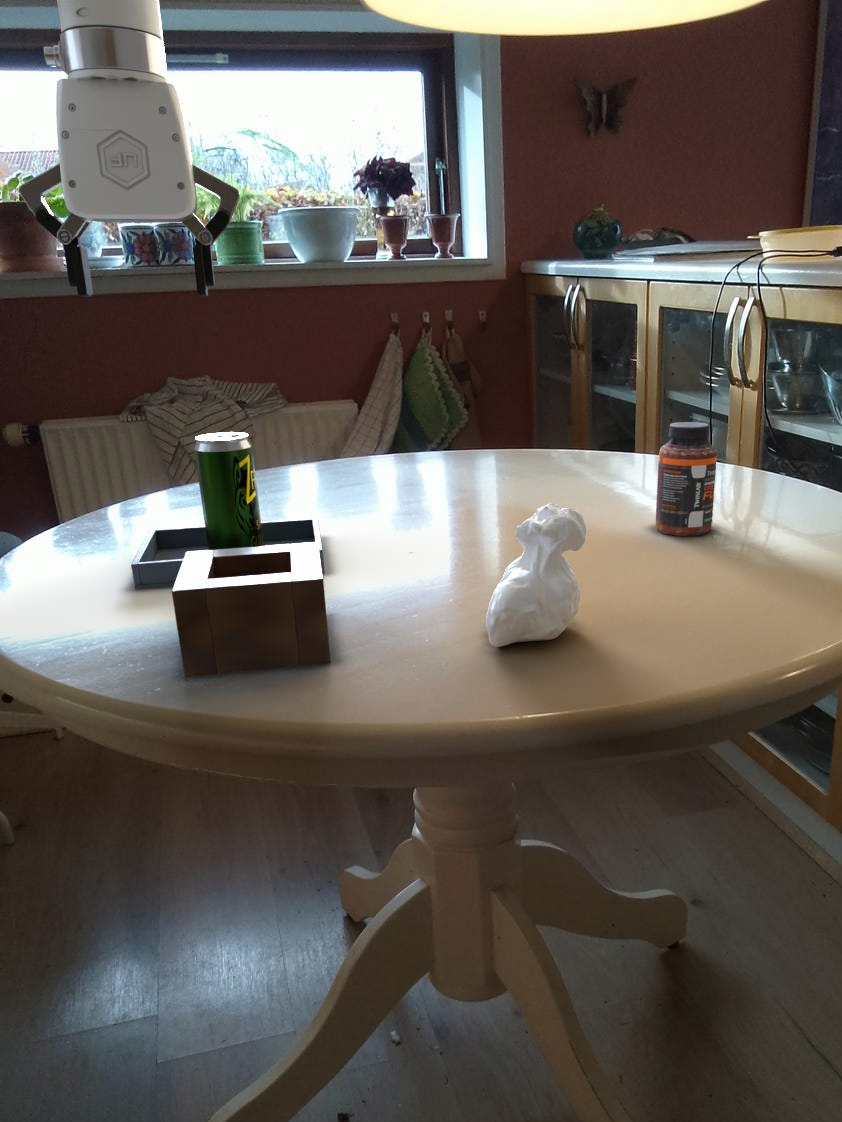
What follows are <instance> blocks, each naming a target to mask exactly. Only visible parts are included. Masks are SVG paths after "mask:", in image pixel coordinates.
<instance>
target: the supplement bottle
mask: <svg viewBox="0 0 842 1122" xmlns="http://www.w3.org/2000/svg"><path fill="white" fill-rule="evenodd" d="M668 430H669V432H668V437H669V439H670V440H669V441H668V442H666V443H665V444H663V445H662V446H661V447H660V449H659V452H658V463H657V481H656V482H657V484H656V502H655V503H656V505H655V528H656V530H658V531H659V532H660V533H663V534H665V535H671V536H678V537H679V536H680V537H695V536H701V535H705V534H707V533H710V531H711V530H712V525H713V524H712V523H713V517H714V502H715V486H716V472H717V458H718V452H717V449H716V447H714V446H713V445H712V444H711V442H710V441H709V437H710V425H709V424H708V423H705V422H700V421H699V422H696V421H695V422H694V421H682V422H681V421H679V422H672V423H670V424H669V429H668Z"/></svg>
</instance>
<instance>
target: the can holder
mask: <svg viewBox="0 0 842 1122" xmlns="http://www.w3.org/2000/svg"><path fill="white" fill-rule="evenodd" d="M324 582H325V581H324V574H322V567H321V559H320V552H319V545H318V542H312V543H299V544H285V545H272V546H258V547H245V548H232V549H218V550H205V551H192V552H186V554H185V556H184V559H183V562H182V565H181V567H180V570H179V573H178V576H177V578H176V581H175V584H174V586H172V589H171V597H172V602H173V603H172V604H173V610H174V616H175V623H176V630H177V637H178V642H179V643H178V644H179V648H180V655H181V663H182V669H183V674H184V675H183V676H184V677H185V678H187V677H199V676H208V675H209V676H210V675H219V674H228V673H241V672H250V671H260V670H261V671H262V670H269V669H271V670H272V669H280V668H290V667H291V668H292V667H299V666H300V667H301V666H312V665H320V664H321V665H322V664H330V663H331V661H332V660H331V650H330V639H329V637H330V636H329V626H328V615H327V605H326V595H325V583H324Z"/></svg>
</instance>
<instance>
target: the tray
mask: <svg viewBox="0 0 842 1122" xmlns="http://www.w3.org/2000/svg"><path fill="white" fill-rule="evenodd" d="M261 526H262V535H263V543H264V546H272V545H285V544H299V543H312V542H318V545H319V552H320V559H321V567H322V574H323V575H325V574H326V573H325V572H326V571H325V563H324V562H325V561H324V560H325V559H324V550H323V542H322V537H321V530H320V524H319V518H318V517H313V518H312V517H309V518H298V519H284V520H269V521H267V520H266V521H261ZM205 550H208V544H207V536H206V529H205V525H199V526H198V525H197V526H184V527H183V526H182V527H167V528H157V529H156V528H155V529H150V530H149V531H148V533H147V535H146V537H145V539H144V540H143V542H142V544H141V546H140V547H139V549H138V551H137V553H136V555H135V557H134V559H133V560H132V562H131V564H130V567H131V572H132V573H131V574H132V579H133V585H134V589H135V590H142V589H155V588H166V587H173V586H174V584H175V581H176V578H177V576H178V573H179V570H180V567H181V565H182V562H183V559H184V556H185V554H186V552H192V551H205Z"/></svg>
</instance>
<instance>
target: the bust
mask: <svg viewBox="0 0 842 1122" xmlns="http://www.w3.org/2000/svg"><path fill="white" fill-rule="evenodd" d="M585 522H586V521H585V519H584V517H583V515H582V513H580V512H579V511H578V510H576V509H575V508H573V507H564V508H563V507H560V504H558V503H557V504H555V503H554V502H552V501H550V502H549V503H548V504H546V505H543V506H540V507H537V509H536V510H535V513H533V514H532V516H531V517H528V519H524V521H523V522H522V523H521V524H520V525H517V526H516V528H515V533H514V537H515V538H516V539H517V541H518V543H519V544H520V545H521V546H522V548H523V552H522V554H521V555H520V556H519V557H518V558H516V559H515V560H513V561H512V562H511V563H509V565H508V566H507V567H505V570H504V572H503V575H502V578H501V579H500V581H499V582H498V583H497V585H496V588H495V589H494V591H493V593H492V595H491V598H490V601H489V604H488V608H487V613H486V616H485V627H486V632H487V635H488V642H489V643H490V645H491V646H493V647H495V648H500V647H504V646H508V645H511V644H514V643H525V642H537V641H550V640H551V641H552V640H554V639H556V638H557V637H559V636H560V635H561V634H562V633H563V632H564V631H565V630H567V627H568V626H570V625H571V624H572V622H573V621H574V620H575V617H576V615H577V613H578V611H579V606H580V599H581V592H580V591H581V590H580V589H579V581H578V577H577V575H576V573H575V571H573V569H572V566H571V564H570V561H569V560H568V558H567V557H566V556H565V555H564V554H563V553H565V552H567V551H568V552H569V551H573V552H577V551H579V550H580V549H581V548H583V546H584V544H585V543H586V535H587V525H586V523H585Z"/></svg>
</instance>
